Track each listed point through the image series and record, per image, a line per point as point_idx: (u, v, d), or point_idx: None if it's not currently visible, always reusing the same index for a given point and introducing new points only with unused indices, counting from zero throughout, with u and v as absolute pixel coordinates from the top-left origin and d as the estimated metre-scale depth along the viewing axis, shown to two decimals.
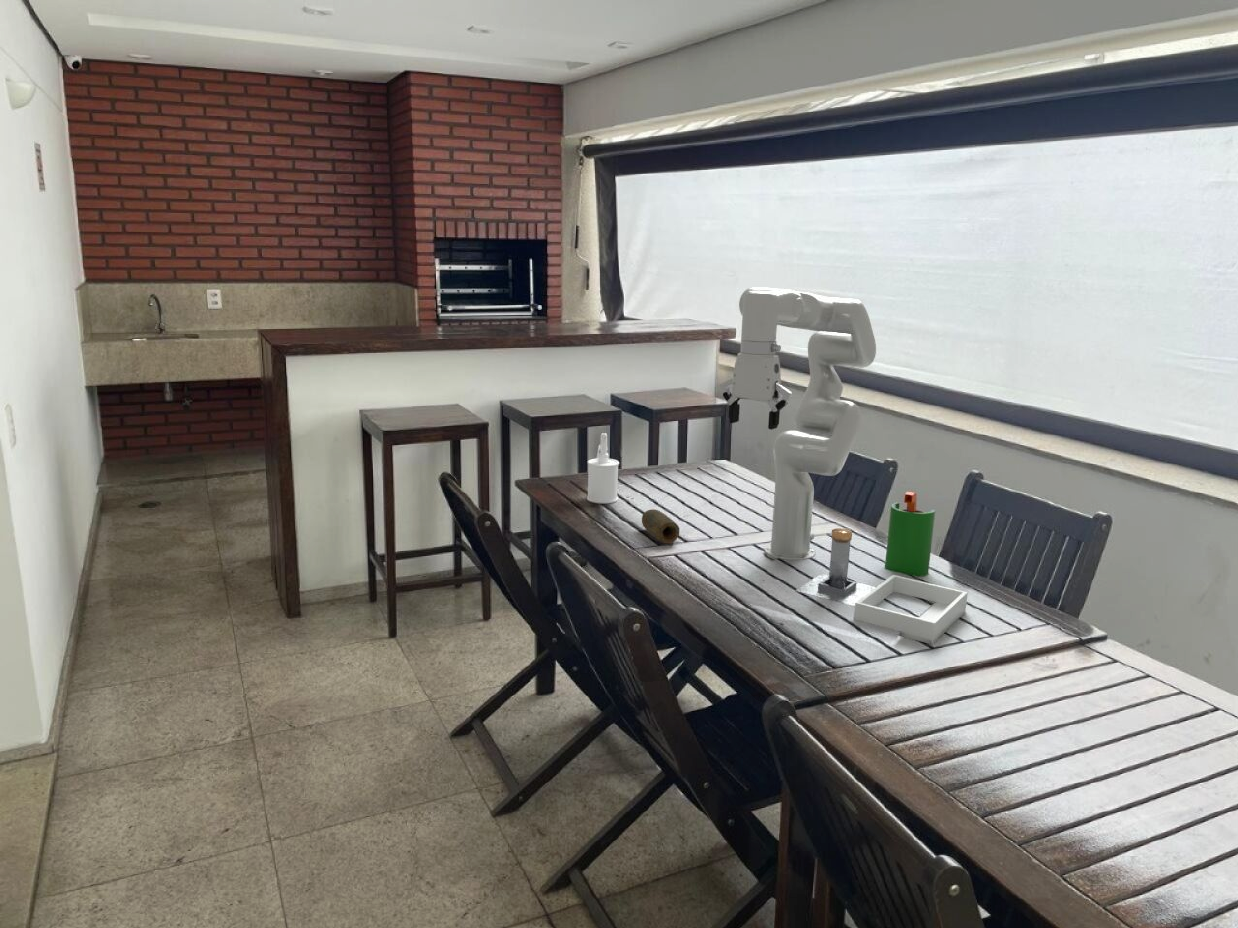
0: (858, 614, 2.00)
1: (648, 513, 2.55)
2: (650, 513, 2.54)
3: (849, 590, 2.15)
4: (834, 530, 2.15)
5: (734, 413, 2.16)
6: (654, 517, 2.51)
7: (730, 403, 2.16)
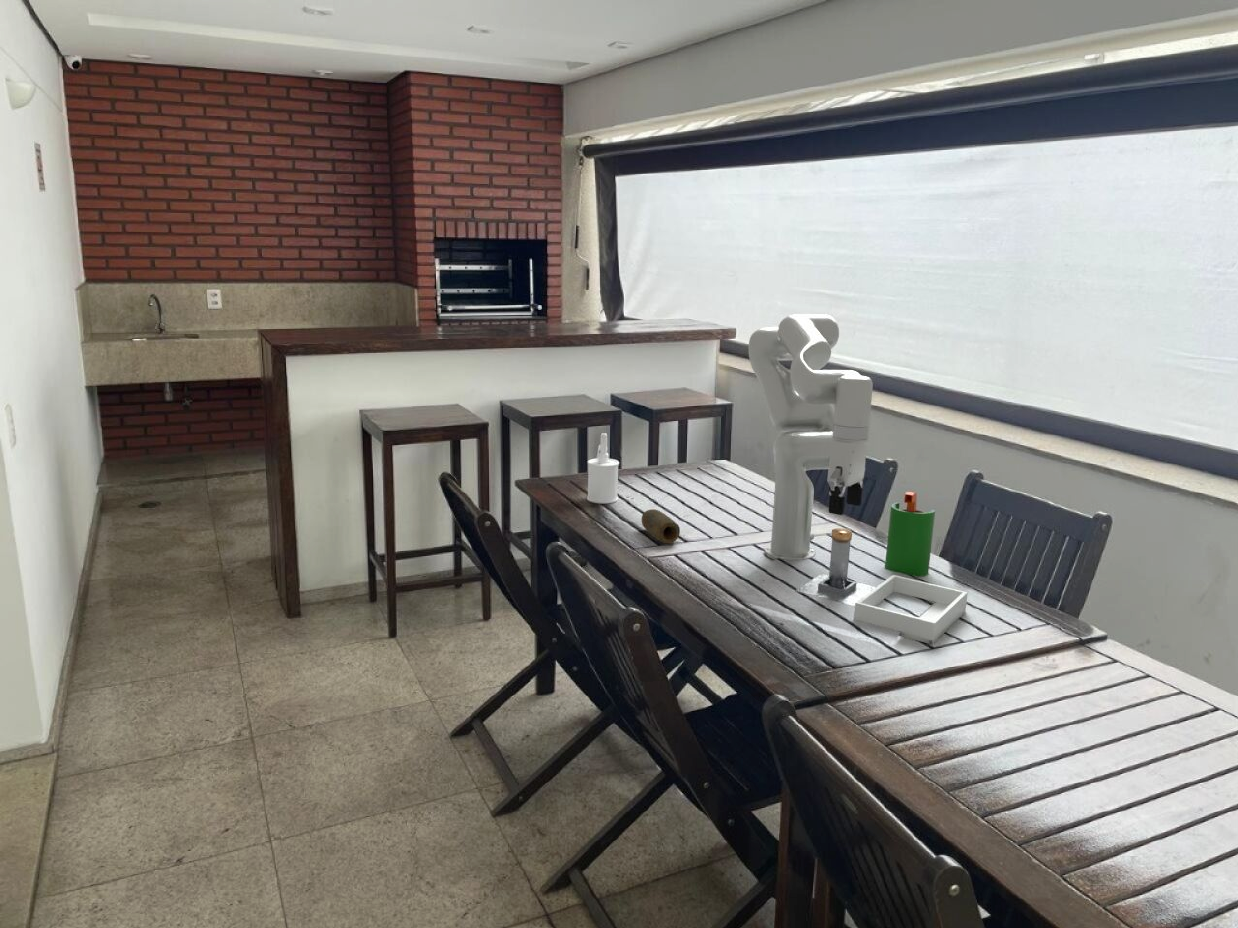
0: (858, 614, 2.00)
1: (648, 513, 2.55)
2: (650, 513, 2.54)
3: (849, 590, 2.15)
4: (834, 530, 2.15)
5: None
6: (654, 517, 2.51)
7: (842, 495, 2.07)
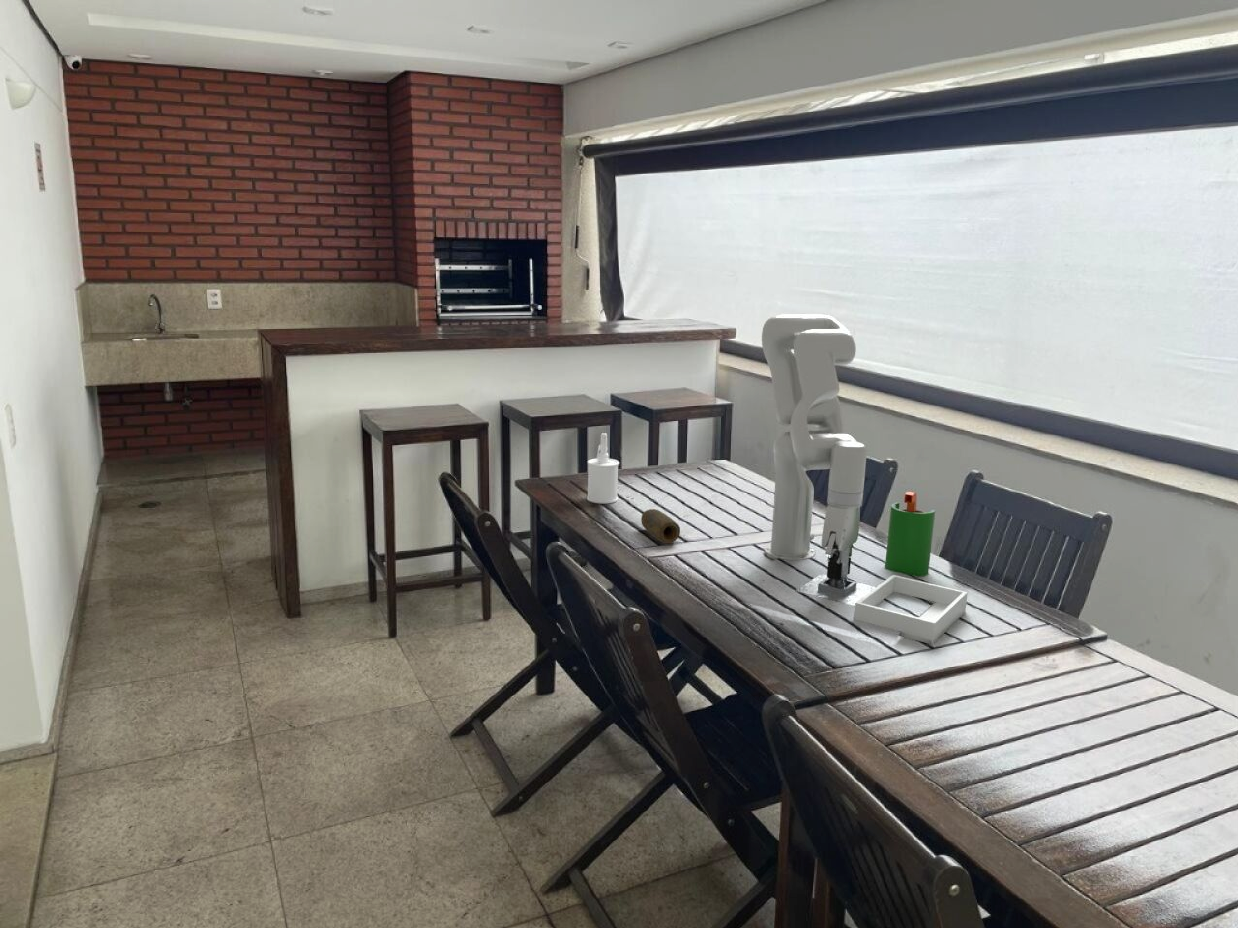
0: (858, 614, 2.00)
1: (648, 513, 2.55)
2: (650, 513, 2.54)
3: (849, 590, 2.15)
4: None
5: None
6: (654, 517, 2.51)
7: (840, 561, 2.13)
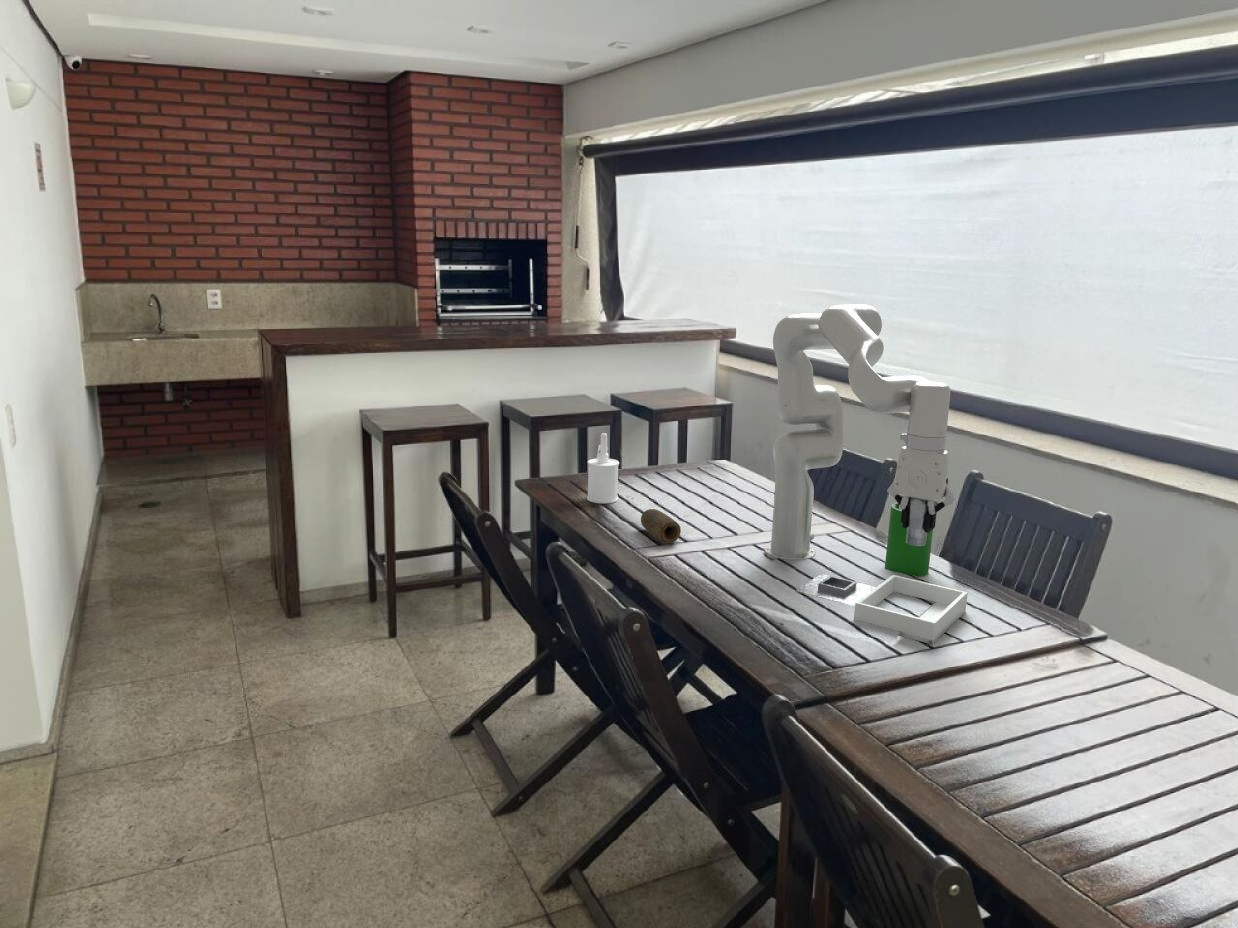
0: (858, 614, 2.00)
1: (647, 513, 2.56)
2: (650, 513, 2.55)
3: (849, 590, 2.15)
4: None
5: None
6: (654, 517, 2.52)
7: None
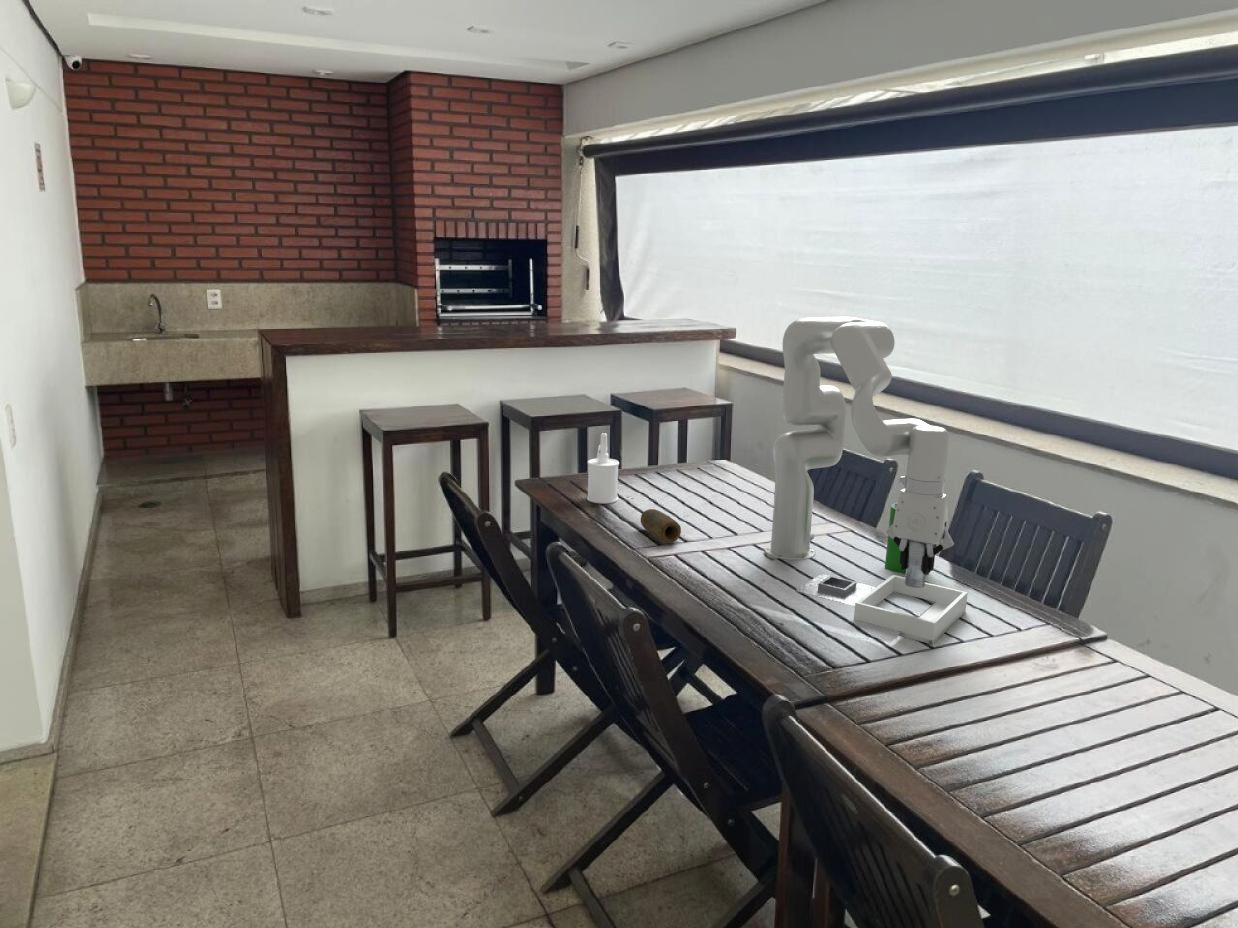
0: (858, 614, 2.00)
1: (647, 513, 2.56)
2: (650, 513, 2.55)
3: (849, 590, 2.15)
4: None
5: None
6: (654, 517, 2.52)
7: None
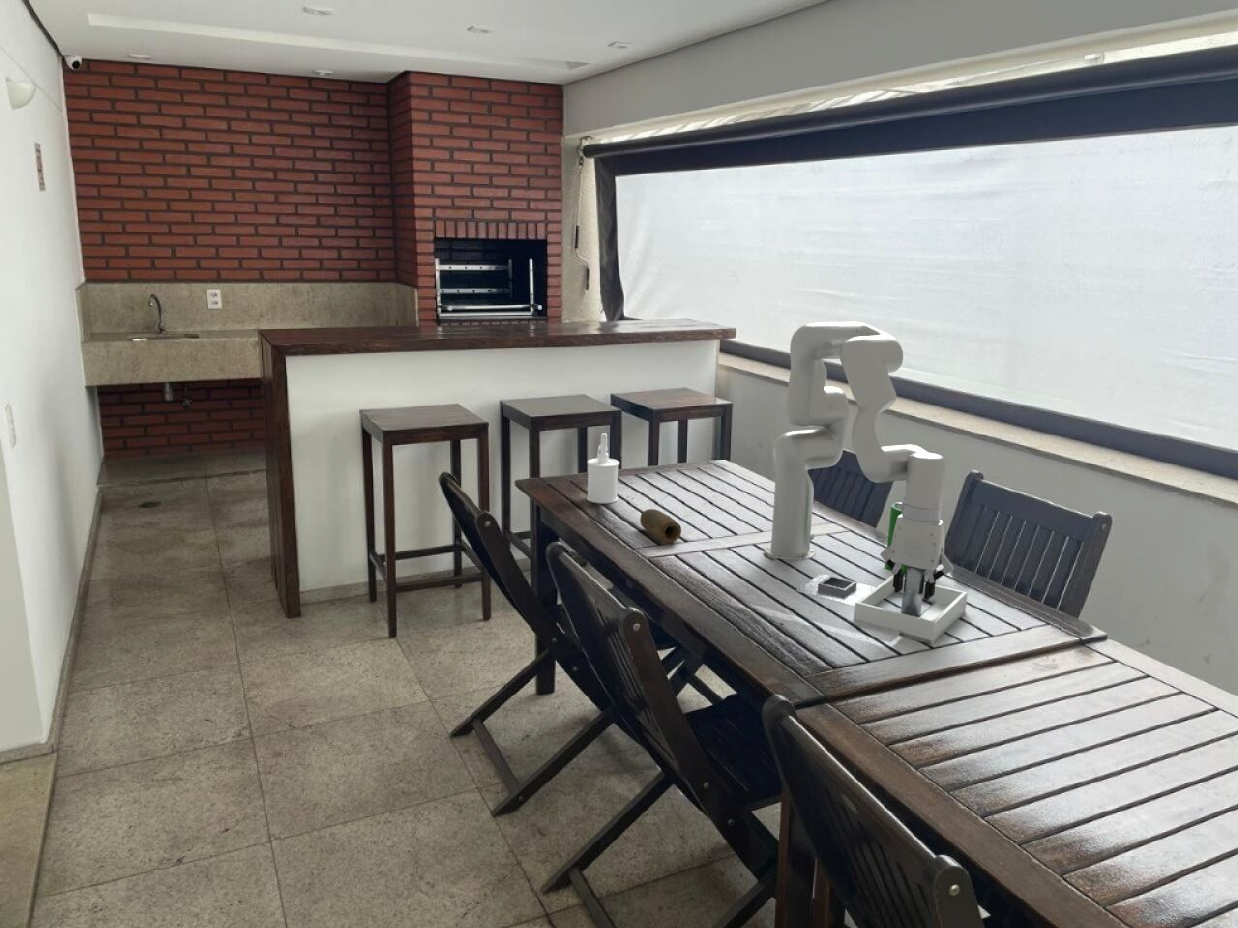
0: (858, 614, 2.00)
1: (647, 513, 2.56)
2: (650, 513, 2.55)
3: (849, 590, 2.15)
4: None
5: None
6: (654, 517, 2.52)
7: None
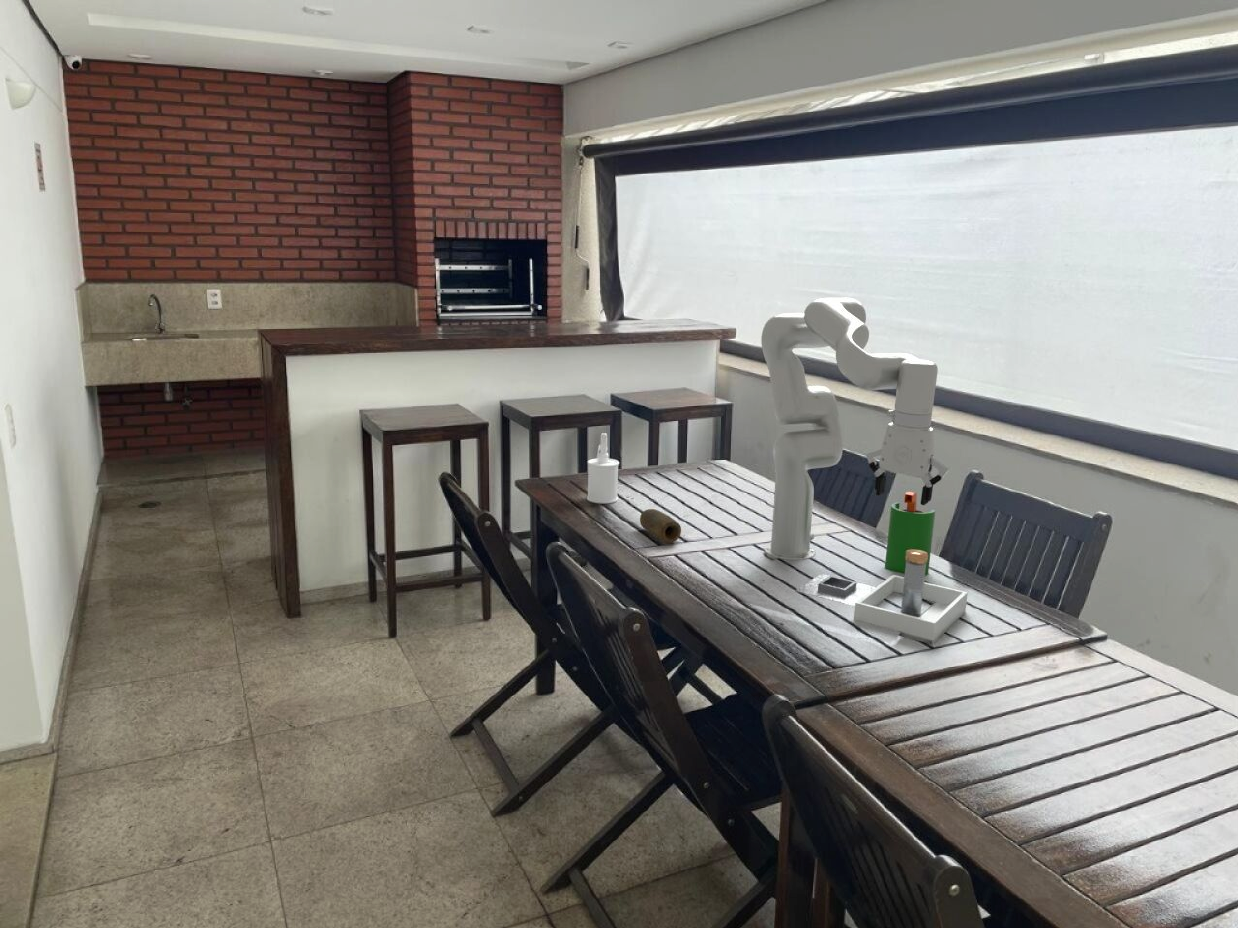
0: (858, 614, 2.00)
1: (647, 513, 2.56)
2: (649, 513, 2.55)
3: (849, 590, 2.15)
4: (916, 555, 2.00)
5: None
6: (654, 517, 2.52)
7: None
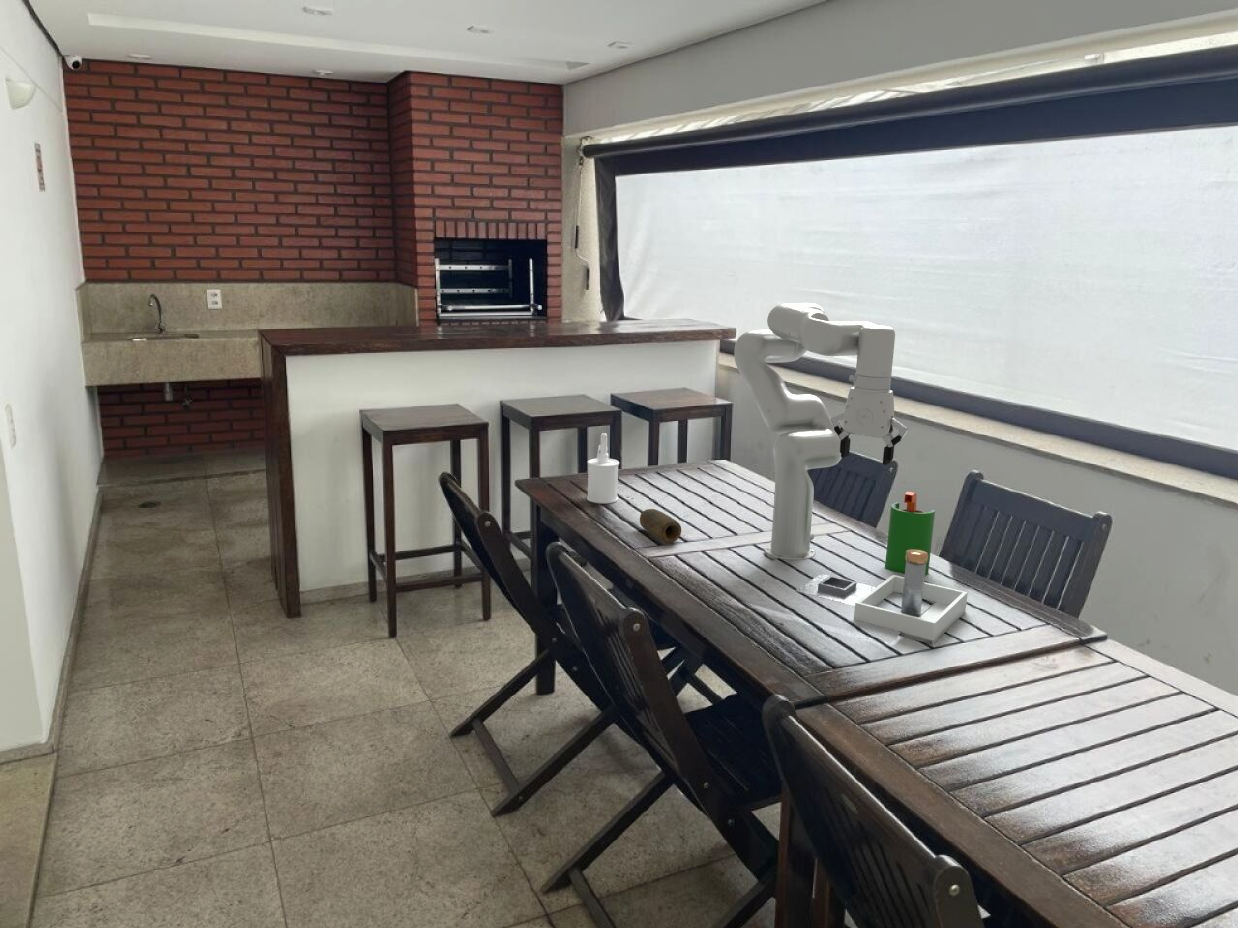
0: (858, 614, 2.00)
1: (647, 513, 2.56)
2: (649, 513, 2.55)
3: (849, 590, 2.15)
4: (916, 555, 2.00)
5: None
6: (654, 516, 2.52)
7: None
